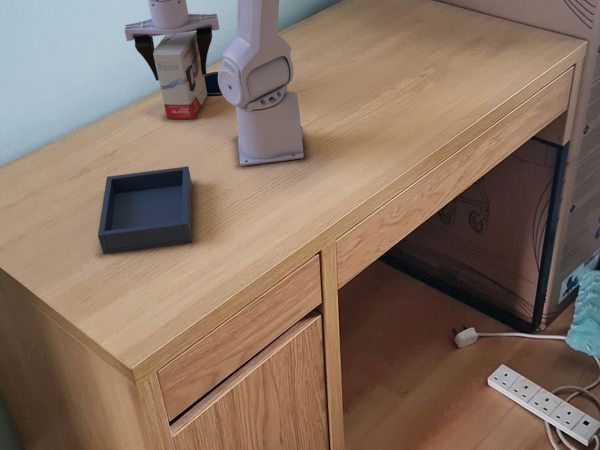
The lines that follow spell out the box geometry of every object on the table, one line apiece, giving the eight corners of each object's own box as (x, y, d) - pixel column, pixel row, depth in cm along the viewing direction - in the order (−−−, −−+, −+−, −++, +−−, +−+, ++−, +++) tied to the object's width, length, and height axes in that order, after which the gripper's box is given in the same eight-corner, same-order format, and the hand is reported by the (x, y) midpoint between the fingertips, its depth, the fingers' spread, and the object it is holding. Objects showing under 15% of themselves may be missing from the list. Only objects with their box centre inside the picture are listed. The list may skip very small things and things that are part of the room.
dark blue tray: (191, 183, 114) (188, 166, 112) (191, 242, 103) (187, 223, 101) (111, 194, 113) (106, 176, 112) (103, 253, 103) (97, 235, 101)
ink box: (193, 120, 128) (181, 53, 121) (165, 119, 129) (151, 53, 122) (208, 94, 135) (197, 29, 128) (181, 93, 136) (169, 29, 129)
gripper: (212, -21, 124) (224, 58, 132) (120, -10, 123) (138, 69, 131) (213, -4, 118) (226, 77, 126) (116, 7, 118) (135, 89, 126)
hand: (181, 74), depth 129 cm, fingers open, 7 cm apart
